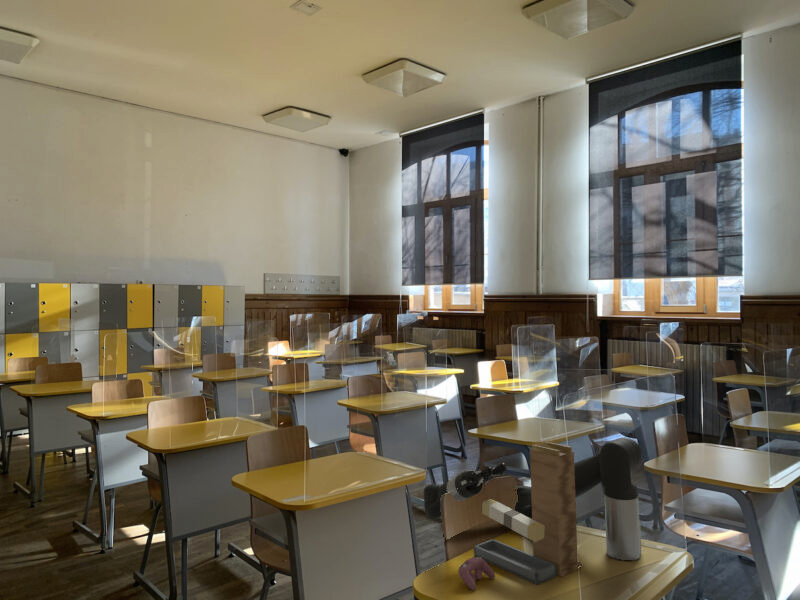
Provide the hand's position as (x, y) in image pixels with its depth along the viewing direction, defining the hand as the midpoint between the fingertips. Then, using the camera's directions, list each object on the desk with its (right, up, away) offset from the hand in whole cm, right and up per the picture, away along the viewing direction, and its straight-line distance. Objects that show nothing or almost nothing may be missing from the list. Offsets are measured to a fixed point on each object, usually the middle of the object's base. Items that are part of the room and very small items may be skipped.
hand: (498, 468), depth 171 cm
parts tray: (+4, -26, -4) cm, 27 cm away
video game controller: (-8, -27, -13) cm, 31 cm away
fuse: (+3, -15, -4) cm, 16 cm away
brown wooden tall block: (+15, -26, -4) cm, 31 cm away
